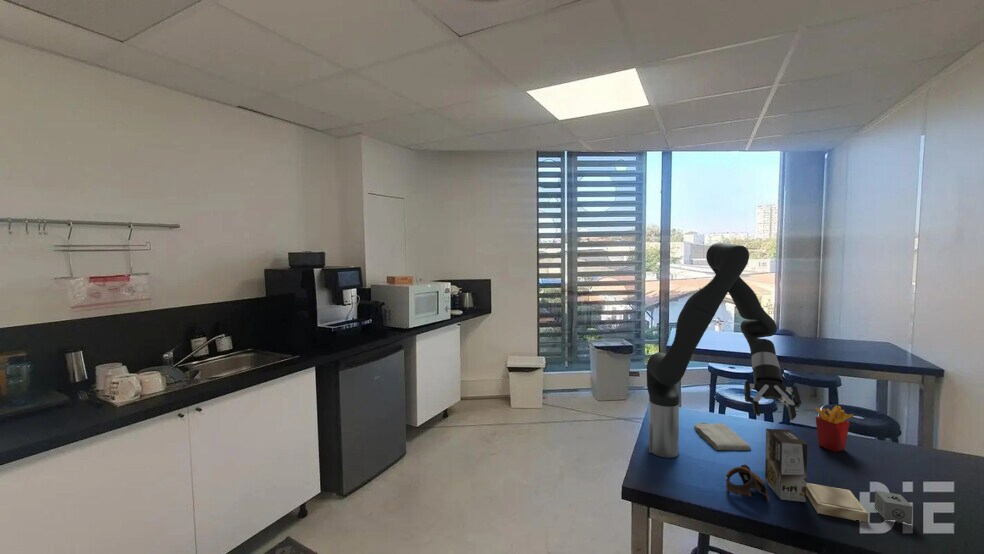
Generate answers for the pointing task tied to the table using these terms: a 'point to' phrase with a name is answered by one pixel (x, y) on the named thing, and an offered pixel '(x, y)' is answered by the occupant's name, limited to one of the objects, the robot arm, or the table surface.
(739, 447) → the washcloth
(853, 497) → the riser
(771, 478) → the coffee box
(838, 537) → the table surface
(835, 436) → the french fries
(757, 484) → the pottery mug
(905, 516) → the dice cube
